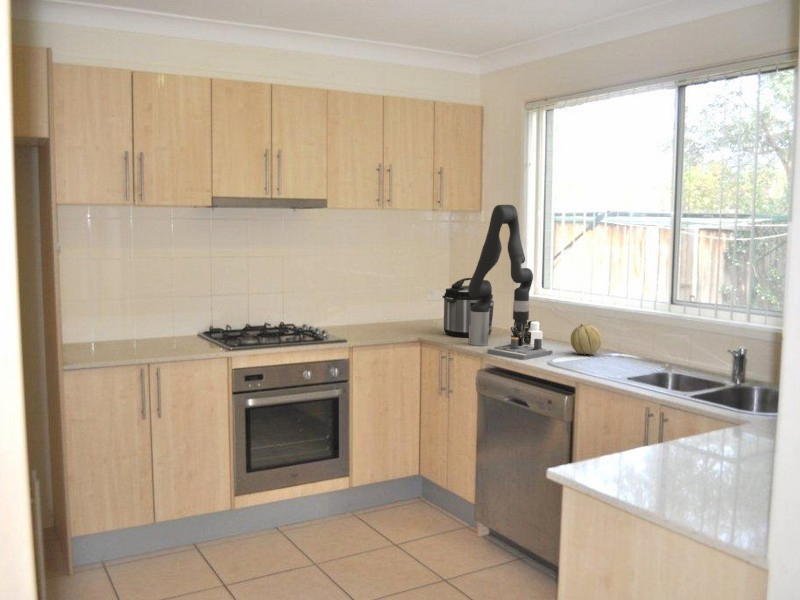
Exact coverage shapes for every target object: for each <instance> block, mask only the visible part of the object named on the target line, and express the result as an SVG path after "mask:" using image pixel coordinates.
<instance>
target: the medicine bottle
mask: <svg viewBox="0 0 800 600" xmlns="http://www.w3.org/2000/svg"><path fill="white" fill-rule="evenodd" d="M527 325H528V326H530V329H529V331H528V333H527V335H526V336H525V337H524V338H523V344H524V345H528V344H529V345H528V346H534V339H537V338H538V339H542V340H543V334H544V332H543V330H540V321H536V320H530V321H527ZM524 334H525V333H524Z"/></svg>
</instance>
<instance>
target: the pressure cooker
mask: <svg viewBox="0 0 800 600" xmlns="http://www.w3.org/2000/svg"><path fill="white" fill-rule="evenodd" d="M471 279H472V277H464V278H461V279H459V280H458V281H456V282H454V283H452V284H451V287H447V288H445V292H444V295H441V296H442V299H443V331H444V333H445V334H446V335H448V336H453V337H461V338H469V326H470V325H471V306H472V305H474V304H476V303H477V302H478V301H479V298H471V297H470V296H469V293H468V287H469V285H463V284H464V282H465V281H471ZM493 295H494V294H493V293H492V294H491V305H490V308H489V335H488V336H490V334H492V333H491V332H492V331H493V318H494V317H493V315H494V303H495V302H494V297H493Z"/></svg>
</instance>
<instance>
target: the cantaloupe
mask: <svg viewBox="0 0 800 600" xmlns="http://www.w3.org/2000/svg"><path fill="white" fill-rule="evenodd" d="M602 343H603V337H602V335H601V332H600V330H598V328H597V327H595V326H594V325H590V324H582V323H581V324H580V325H579V326H577V327H576V328H574V329H573V331H572V332H571V334H570V345H571V347H572V349H573V350H574V351H575V352H576V353H578V354H579V355H583V354H584V356H586V354H591V355H594V354H595V353H597V352H598V351H599V350H600V349H601V346H602Z"/></svg>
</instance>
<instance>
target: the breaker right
mask: <svg viewBox="0 0 800 600" xmlns="http://www.w3.org/2000/svg"><path fill="white" fill-rule="evenodd" d="M542 345H543V338H542V339H538V338H537V339H534V345H533V347H534V348H533V351H534V350H539V349H542Z"/></svg>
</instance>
